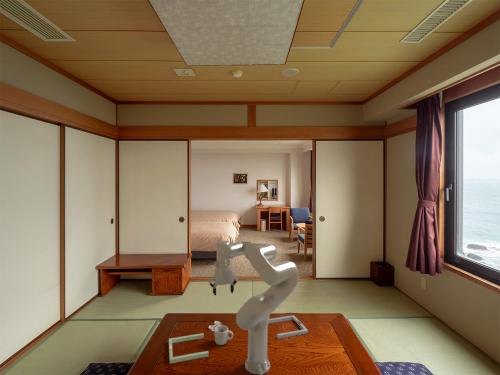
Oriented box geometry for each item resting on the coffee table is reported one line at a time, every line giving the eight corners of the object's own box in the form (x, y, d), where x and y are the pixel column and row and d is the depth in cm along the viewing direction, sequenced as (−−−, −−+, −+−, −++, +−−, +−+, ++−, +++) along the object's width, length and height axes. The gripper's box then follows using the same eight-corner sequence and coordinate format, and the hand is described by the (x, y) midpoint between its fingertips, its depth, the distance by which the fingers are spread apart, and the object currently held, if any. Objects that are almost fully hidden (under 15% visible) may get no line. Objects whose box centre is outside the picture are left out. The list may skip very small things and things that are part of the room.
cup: (234, 339, 161) (234, 325, 160) (231, 347, 153) (231, 333, 153) (215, 338, 162) (215, 324, 162) (212, 346, 154) (212, 332, 154)
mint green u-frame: (208, 356, 145) (208, 351, 145) (169, 363, 139) (169, 358, 139) (203, 336, 163) (203, 332, 163) (168, 342, 158) (168, 337, 157)
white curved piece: (207, 331, 170) (207, 324, 170) (211, 324, 178) (212, 318, 178) (220, 333, 168) (220, 326, 168) (225, 326, 176) (225, 319, 176)
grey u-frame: (308, 333, 167) (308, 329, 167) (278, 338, 161) (278, 334, 161) (293, 318, 185) (293, 314, 185) (266, 322, 180) (266, 318, 179)
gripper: (209, 266, 150) (209, 298, 150) (240, 263, 155) (240, 294, 156) (206, 262, 157) (206, 292, 157) (236, 260, 162) (236, 289, 163)
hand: (223, 293), depth 156 cm, fingers open, 9 cm apart
